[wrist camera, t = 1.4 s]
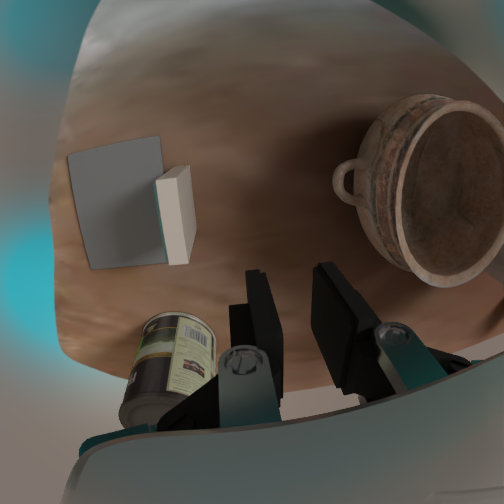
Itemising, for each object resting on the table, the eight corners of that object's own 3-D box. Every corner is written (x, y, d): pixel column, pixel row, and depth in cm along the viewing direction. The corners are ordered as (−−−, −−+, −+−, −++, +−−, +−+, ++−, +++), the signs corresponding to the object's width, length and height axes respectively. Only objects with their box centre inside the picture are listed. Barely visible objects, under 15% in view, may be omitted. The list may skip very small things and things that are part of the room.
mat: (159, 135, 28) (158, 135, 27) (176, 260, 33) (176, 261, 33) (69, 154, 27) (67, 155, 27) (92, 268, 32) (91, 269, 32)
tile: (189, 164, 29) (176, 177, 21) (196, 228, 32) (188, 263, 24) (171, 167, 29) (151, 180, 21) (179, 230, 32) (165, 265, 24)
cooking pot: (472, 120, 29) (537, 129, 18) (456, 245, 36) (510, 282, 25) (307, 81, 27) (356, 56, 16) (300, 249, 34) (336, 307, 23)
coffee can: (142, 361, 39) (122, 441, 26) (143, 304, 35) (113, 387, 22) (211, 373, 40) (211, 455, 28) (223, 318, 37) (226, 406, 24)
